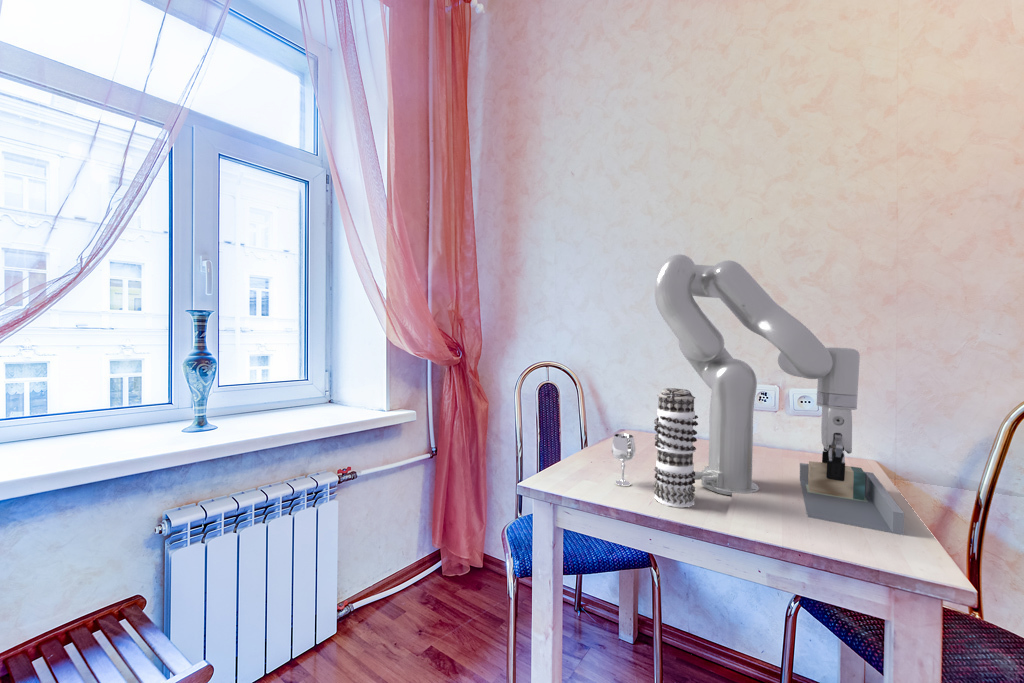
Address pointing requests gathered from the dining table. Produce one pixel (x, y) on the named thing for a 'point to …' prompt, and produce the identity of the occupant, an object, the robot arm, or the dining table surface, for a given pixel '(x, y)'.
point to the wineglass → (623, 451)
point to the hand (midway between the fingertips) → (832, 474)
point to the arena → (855, 506)
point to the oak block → (847, 488)
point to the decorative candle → (675, 448)
